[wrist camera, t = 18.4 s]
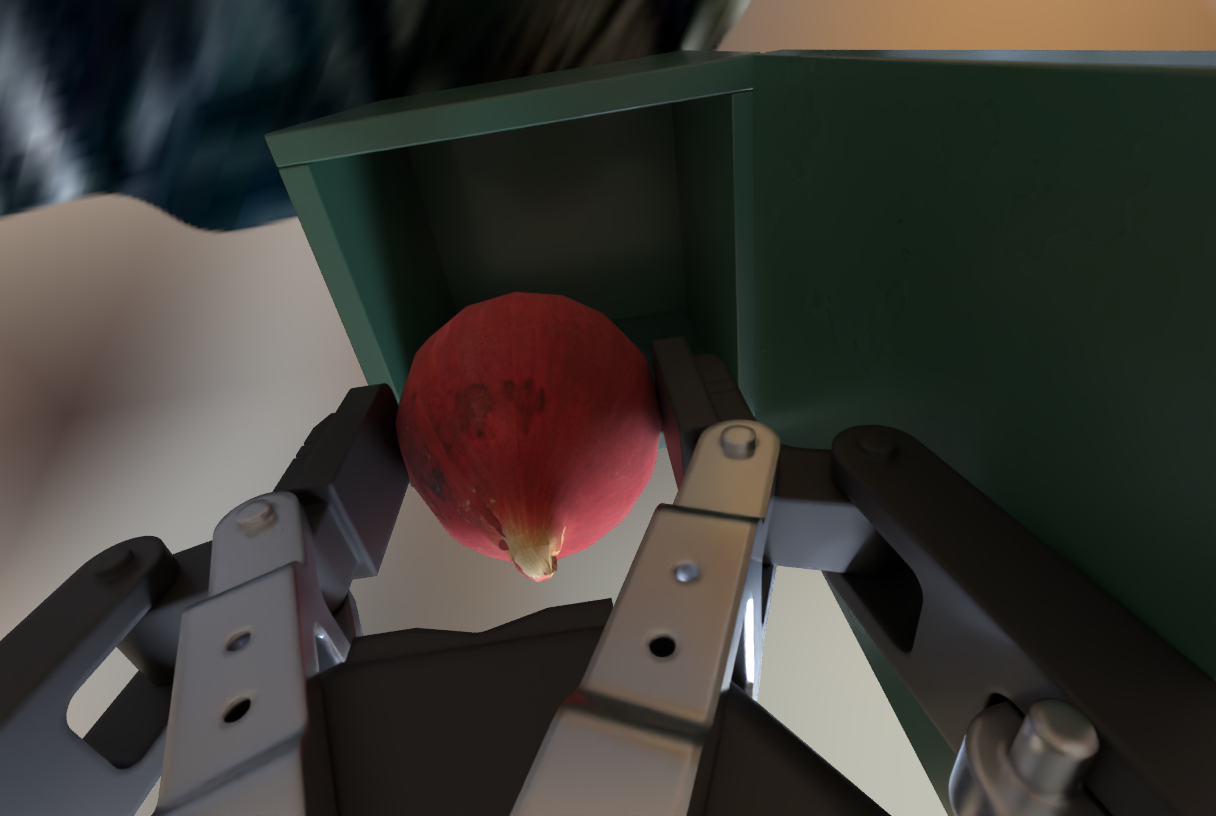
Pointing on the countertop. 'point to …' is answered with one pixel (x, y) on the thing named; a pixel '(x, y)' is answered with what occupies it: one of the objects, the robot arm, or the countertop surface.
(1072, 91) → the lid
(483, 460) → the onion
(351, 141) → the box
